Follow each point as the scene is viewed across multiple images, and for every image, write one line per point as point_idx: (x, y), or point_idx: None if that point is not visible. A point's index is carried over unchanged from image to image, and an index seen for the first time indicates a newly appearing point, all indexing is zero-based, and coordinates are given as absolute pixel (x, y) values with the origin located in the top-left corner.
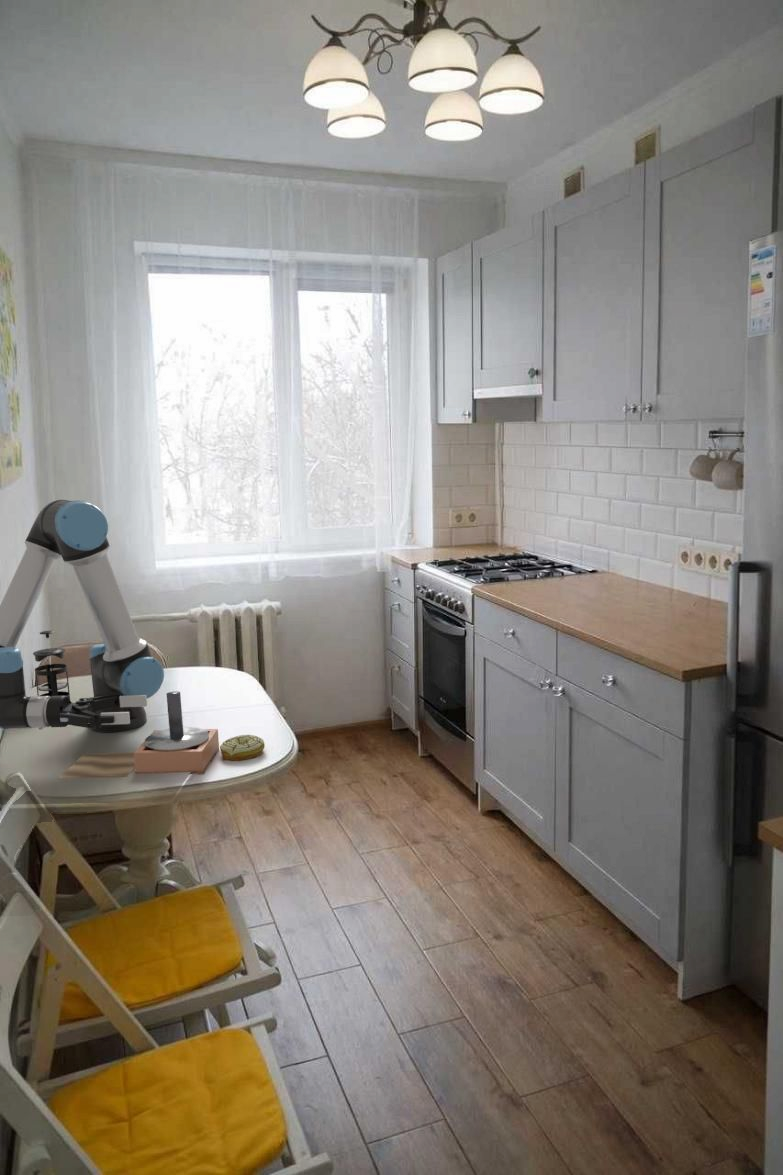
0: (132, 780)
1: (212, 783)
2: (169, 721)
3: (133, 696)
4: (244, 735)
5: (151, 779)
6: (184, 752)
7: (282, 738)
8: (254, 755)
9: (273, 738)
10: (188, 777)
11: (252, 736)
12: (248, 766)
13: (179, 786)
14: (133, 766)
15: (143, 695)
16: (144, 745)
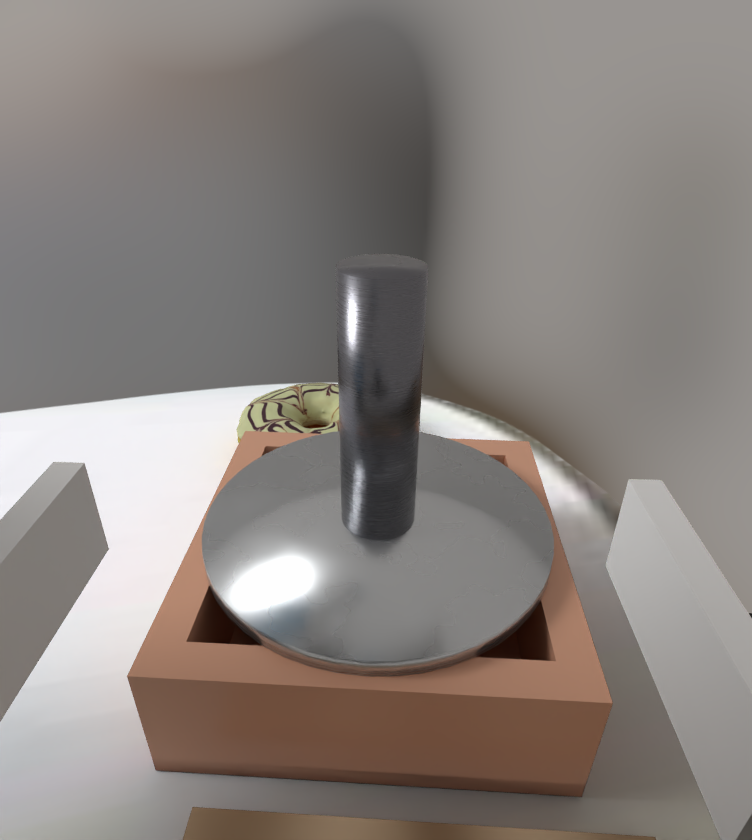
0: (661, 797)
1: (599, 489)
2: (406, 447)
3: (16, 548)
4: (267, 406)
5: (617, 692)
6: (543, 487)
7: (205, 394)
8: None
9: (194, 407)
10: None
11: (284, 393)
12: (440, 433)
13: None
14: (472, 837)
15: (48, 478)
16: (455, 669)
